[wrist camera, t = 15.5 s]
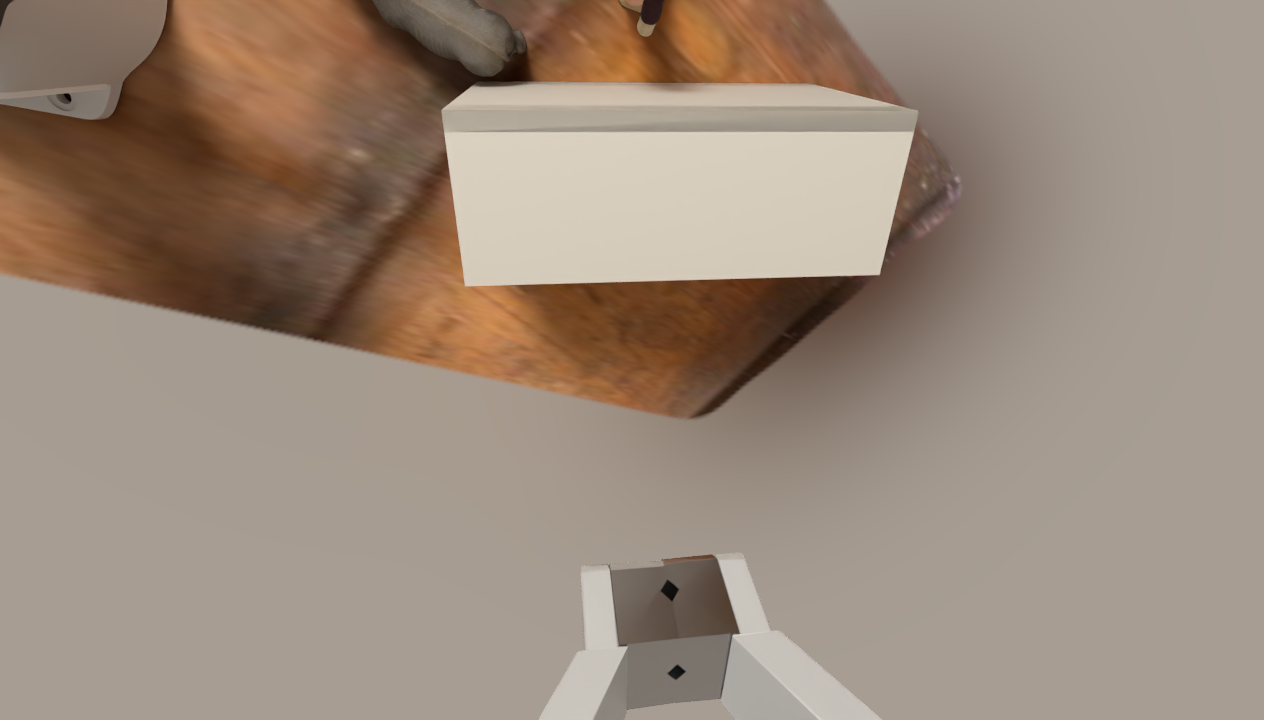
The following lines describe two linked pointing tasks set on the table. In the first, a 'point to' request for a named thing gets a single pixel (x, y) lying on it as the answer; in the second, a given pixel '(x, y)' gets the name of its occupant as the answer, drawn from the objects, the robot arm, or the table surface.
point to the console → (671, 181)
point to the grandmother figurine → (645, 13)
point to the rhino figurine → (457, 31)
